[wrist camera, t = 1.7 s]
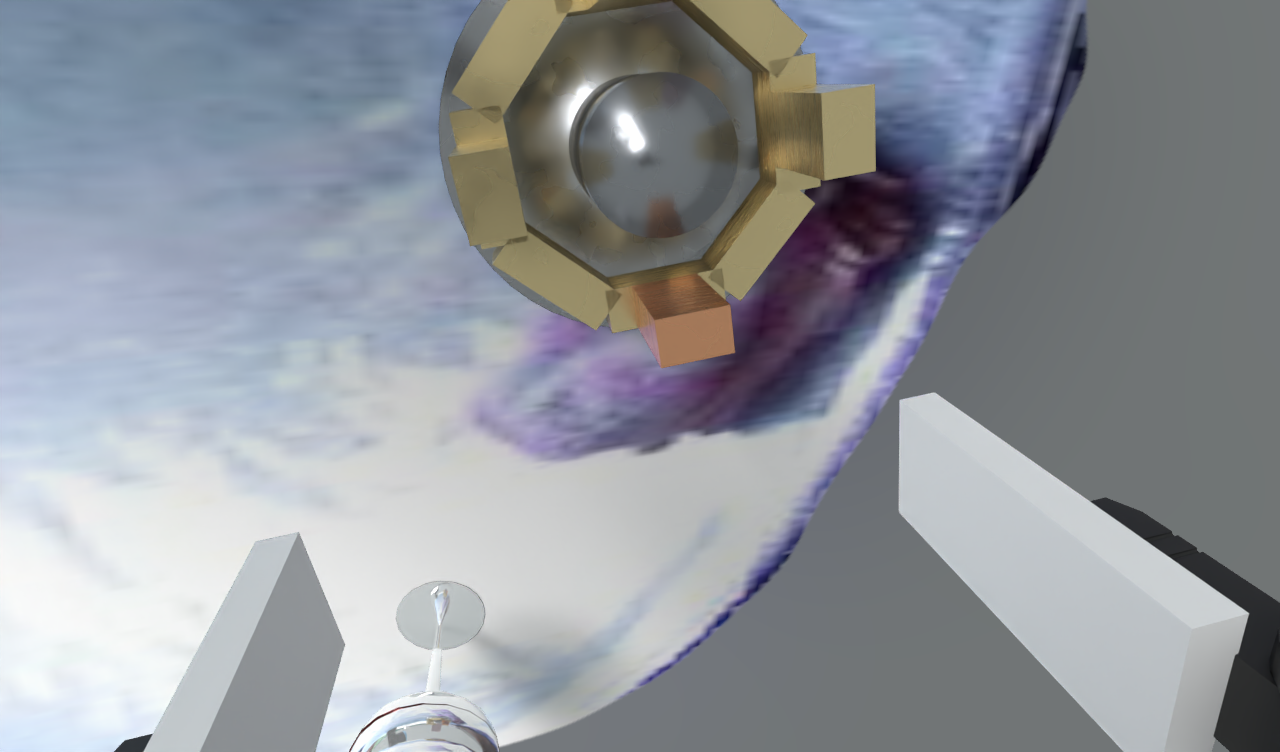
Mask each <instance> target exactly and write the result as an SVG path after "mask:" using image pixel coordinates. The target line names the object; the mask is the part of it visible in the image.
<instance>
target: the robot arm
mask: <svg viewBox="0 0 1280 752" xmlns="http://www.w3.org/2000/svg"><path fill="white" fill-rule="evenodd" d="M899 423H900V425H899V513H900V514H901V515H902V516H903V517H904V518H905V519H906V520H907V521H908V522H909V524H910V525H911V526H912V527H913V528H914V529H915V530H916V531H917V532H918V533H919V534H920V535H921V536H922V537H923V538H924V540H925V541H926V542H927V543H928V544H929V545H930V546H931V547H932V548H933V549H934V550H935V551H936V552H937V553H938V554H939V555H940V556H941V558H942V559H943V560H944V561H945V562H946V563H947V564H948V565H949V566H950V567H951V568H952V569H953V570H954V571H955V573H956V574H958V576H959V577H960V578H961V579H962V580H963V581H964V582H965V583H966V584H967V585H968V586H969V587H970V589H971V590H972V591H973V592H974V593H975V594H976V595H977V596H978V597H979V598H980V599H981V600H982V601H983V602H984V603H985V605H986V606H987V607H988V608H989V609H990V610H991V611H992V612H993V613H994V614H995V615H996V616H997V617H998V618H999V619H1000V620H1001V622H1002V623H1003V624H1004V625H1005V626H1006V627H1007V628H1008V629H1009V630H1010V631H1011V632H1012V633H1013V634H1014V635H1015V636H1016V638H1017V639H1018V640H1019V641H1020V642H1021V643H1022V644H1023V645H1024V646H1025V647H1026V648H1027V649H1028V650H1029V651H1030V652H1031V654H1033V656H1034V657H1035V658H1036V659H1037V660H1038V661H1039V662H1040V663H1041V664H1042V665H1043V666H1044V667H1045V668H1046V669H1047V671H1048V672H1049V673H1050V674H1051V675H1052V676H1053V677H1054V678H1055V679H1056V680H1057V681H1058V682H1059V683H1060V684H1061V685H1062V686H1063V688H1064V689H1065V690H1066V691H1067V692H1068V693H1069V694H1070V695H1071V696H1072V697H1073V698H1074V699H1075V700H1076V701H1077V703H1078V704H1079V705H1080V706H1081V707H1082V708H1083V709H1084V710H1085V711H1086V712H1087V713H1088V714H1089V715H1090V716H1091V717H1092V718H1093V719H1094V721H1095V722H1096V723H1097V724H1098V725H1099V726H1100V727H1101V728H1102V729H1103V730H1104V731H1105V732H1106V733H1107V734H1108V735H1109V737H1110V738H1111V739H1112V740H1113V741H1114V742H1115V743H1116V744H1117V745H1118V746H1119V747H1120V748H1121V749H1122V750H1123V751H1124V752H1212V749H1213V746H1214V742H1215V738H1216V739H1217V740H1218V741H1219V742H1220V743H1221V744H1222V745H1223V746H1225V747H1226V748H1227V749H1228V750H1229V751H1230V752H1280V603H1279V602H1278V601H1276V600H1275V599H1273V598H1272V597H1270V596H1269V595H1267V594H1266V593H1264V592H1263V591H1261V590H1260V589H1258V588H1257V587H1255V586H1253V585H1252V584H1250V583H1249V582H1248V581H1246V580H1244V579H1243V578H1241V577H1240V576H1238V575H1237V574H1235V573H1234V572H1232V571H1231V570H1229V569H1228V568H1226V567H1225V566H1223V565H1222V564H1220V563H1219V562H1217V561H1216V560H1214V559H1213V558H1211V557H1210V556H1208V555H1207V554H1205V553H1204V552H1201V553H1199V552H1198V551H1197V548H1196V547H1195V546H1193V545H1192V544H1190V543H1189V542H1187V541H1185V540H1184V539H1182V538H1181V537H1179V536H1174V535H1173V534H1172V531H1170V530H1169V529H1167V528H1166V527H1164V526H1163V525H1161V524H1160V523H1158V522H1157V521H1155V520H1154V519H1152V518H1151V517H1149V516H1148V515H1146V514H1145V513H1143V512H1141V511H1139V510H1136V509H1134V508H1131V507H1128V506H1126V505H1123V504H1121V503H1118V502H1116V501H1113V500H1110V499H1108V498H1102V499H1098V500H1094V501H1088V500H1087V499H1086V498H1084V497H1083V496H1081V495H1080V494H1078V493H1077V492H1075V491H1074V490H1073V489H1071V488H1070V487H1069V486H1067V485H1066V484H1064V483H1062V482H1061V481H1060V480H1058V479H1057V478H1056V477H1054V476H1052V475H1051V474H1050V473H1049V472H1047V471H1046V470H1044V469H1043V468H1041V467H1040V466H1039V465H1037V464H1036V463H1034V462H1033V461H1031V460H1030V459H1029V458H1027V457H1026V456H1024V455H1023V454H1022V453H1020V452H1019V451H1017V450H1016V449H1014V448H1013V447H1011V446H1010V445H1009V444H1007V443H1006V442H1004V441H1003V440H1002V439H1000V438H998V437H997V436H996V435H994V434H993V433H992V432H990V431H988V430H987V429H986V428H984V427H983V426H982V425H980V424H979V423H977V422H976V421H975V420H973V419H971V418H970V417H969V416H967V415H966V414H965V413H963V412H962V411H960V410H959V409H957V408H956V407H955V406H953V405H952V404H950V403H949V402H947V401H946V400H945V399H943V398H942V397H940V396H939V395H938V394H936V393H929V394H925V395H920V396H916V397H911V398H907V399H902V400H900V421H899ZM344 646H345V643H344V641H343V639H342V636H341V634H340V631H339V629H338V626H337V624H336V622H335V619H334V617H333V614H332V612H331V609H330V607H329V605H328V602H327V600H326V597H325V595H324V592H323V590H322V588H321V585H320V583H319V580H318V578H317V575H316V573H315V571H314V568H313V566H312V563H311V561H310V558H309V556H308V554H307V551H306V549H305V546H304V544H303V541H302V539H301V537H300V534H299V532H298V533H293V534H289V535H284V536H279V537H275V538H270V539H266V540H261V541H257V542H255V544H254V546H253V548H252V550H251V552H250V553H249V555H248V557H247V559H246V561H245V563H244V565H243V567H242V568H241V570H240V572H239V574H238V576H237V578H236V580H235V581H234V583H233V585H232V587H231V589H230V591H229V593H228V595H227V596H226V598H225V600H224V602H223V604H222V606H221V608H220V610H219V611H218V613H217V615H216V617H215V619H214V621H213V623H212V624H211V626H210V628H209V630H208V632H207V634H206V636H205V638H204V639H203V641H202V643H201V645H200V647H199V649H198V651H197V653H196V654H195V656H194V658H193V660H192V662H191V664H190V666H189V667H188V669H187V671H186V673H185V675H184V677H183V679H182V681H181V682H180V684H179V686H178V688H177V690H176V692H175V694H174V695H173V697H172V699H171V701H170V703H169V705H168V707H167V709H166V710H165V712H164V714H163V716H162V718H161V720H160V722H159V724H158V725H157V727H156V729H155V731H154V733H153V734H150V735H145V736H141V737H137V738H133V739H129V740H125V741H124V742H123V743H122V744H121V745H120V746H119V747H118V748H117V749H116V750H115V751H114V752H315V751H316V747H317V744H318V740H319V737H320V733H321V729H322V726H323V722H324V718H325V715H326V711H327V708H328V704H329V700H330V697H331V693H332V690H333V686H334V682H335V679H336V675H337V671H338V668H339V664H340V661H341V657H342V653H343V650H344Z"/></svg>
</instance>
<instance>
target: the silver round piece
mask: <svg viewBox="0 0 1280 752" xmlns="http://www.w3.org/2000/svg"><path fill="white" fill-rule="evenodd" d="M507 1H508V0H481V2H480V3H479V5H478V6H477V7H476V9H475V10H474V12H473V13H472V15H471V16H470V17H469V19H468V21H467V23H466V25H465V27H464V29H463V31H462V33H461V35H460V37H459V39H458V41H457V43H456V45H455V48H454V51H453V53H452V56H451V59H450V62H449V65H448V68H447V71H446V76H445V80H444V85H443V90H442V95H441V102H440V116H439V139H440V155H441V160H442V165H443V171H444V176H445V181H446V184H447V187H448V190H449V194H450V197H451V200H452V203H453V206H454V208H455V210H456V212H457V214H458V217H459V219H460V221H461V223H462V225H463V227H464V229H465V231H466V227H465V223H464V219H463V215H462V211H461V207H460V203H459V199H458V195H457V191H456V187H455V183H454V179H453V175H452V171H451V167H450V163H449V159H448V156H449V155H450V154H451V152H452V151H453V149H454V148H455V147H456V142H455V137H454V133H453V129H452V125H451V121H450V117H449V113H450V112H452V111H457V110H463V109H469V108H472V107H470V106H469V105H468V104H466V103H465V102H464V101H462V100H461V99H459V98H458V97H457V96H455V95H454V94H452V91H453V89H454V88H455V86H456V84H457V83H458V81H459V79H460V78H461V76H462V75H463V73H464V71H465V70H466V68H467V66H468V65H469V63H470V61H471V60H472V58H473V57H474V55H475V53H476V52H477V50H478V48H479V47H480V45H481V43H482V42H483V40H484V38H485V37H486V35H487V34H488V32H489V30H490V29H491V27H492V25H493V24H494V22H495V20H496V19H497V17H498V16H499V14H500V12H501V11H502V9H503V7H504V6H505V4H506V2H507ZM771 1H772V2H773V3H774V4H775V5H776V6H777V7H778V8H779V6H778V5H777V4H776V2H775V1H774V0H771ZM779 9H780V8H779ZM780 10H781V9H780ZM802 54H803V53H802V50H801V48H800V47H799V48H798V50H797V51H796V53H795V54H794V55H802ZM503 120H504V125H505V129H506V134H507V139H508V144H509V148H510V153H511V158H512V162H513V167H514V172H515V176H516V181H517V186H518V190H519V195H520V200H521V205H522V209H523V214H524V219H525V222H526V223H528V224H529V225H531V226H532V227H534V228H535V229H537V230H538V231H540V232H541V233H543V234H544V235H546V236H547V237H549V238H550V239H551V240H553V241H554V242H556V243H557V244H559V245H560V246H562V247H563V248H565V249H566V250H568V251H569V252H571V253H572V254H574V255H575V256H577V257H578V258H580V259H581V260H583V261H584V262H586V263H587V264H589V265H590V266H592V267H593V268H594V269H596V270H597V271H599V272H600V273H602V274H603V275H605V276H606V277H611V276H616V275H621V274H626V273H631V272H636V271H641V270H647V269H652V268H657V267H662V266H667V265H672V264H677V263H683V262H688V261H693V260H698V259H701V258H702V257H703V255H704V254H705V253H706V251H707V250H708V249H709V247H710V246H711V244H712V243H713V242H714V240H715V239H716V238H717V236H718V235H719V234H720V232H721V231H722V230H723V228H724V227H725V225H726V224H727V223H728V221H729V220H730V219H731V217H732V216H733V215H734V213H735V212H736V210H737V209H738V208H739V206H740V205H741V204H742V202H743V201H744V200H745V198H746V197H747V196H748V194H749V193H750V191H751V190H752V189H753V187H754V186H755V185H756V183H757V182H758V181H759V179H760V174H759V161H758V148H757V134H756V121H755V108H754V95H753V81H752V72H751V71H749V70H748V69H747V68H746V67H745V66H744V65H743V64H742V63H740V62H739V61H738V60H737V59H736V58H735V57H734V56H733V55H731V54H730V53H729V52H728V51H727V50H726V49H725V48H724V47H722V46H721V45H720V44H719V43H718V42H717V41H716V40H715V39H713V38H712V37H711V36H710V35H709V34H708V33H707V32H706V31H704V30H703V29H702V28H701V27H700V26H699V25H698V24H697V23H695V22H694V21H693V20H692V19H691V18H690V17H689V16H688V15H686V14H685V13H684V12H683V11H682V10H681V9H680V8H679V7H677V6H676V5H675V4H674V3H673V2H672V1H670V2H663V3H657V4H650V5H644V6H637V7H630V8H624V9H617V10H611V11H604V12H598V13H591V14H584V15H578V16H571V17H565V18H564V19H563V21H562V23H561V24H560V26H559V27H558V29H557V30H556V32H555V34H554V35H553V37H552V38H551V40H550V42H549V43H548V45H547V46H546V48H545V49H544V51H543V53H542V54H541V56H540V57H539V59H538V60H537V62H536V64H535V65H534V67H533V68H532V70H531V72H530V73H529V75H528V76H527V78H526V79H525V81H524V83H523V84H522V86H521V87H520V89H519V91H518V92H517V94H516V95H515V97H514V98H513V100H512V102H511V103H510V105H509V106H508V108H507V110H506V111H505V113H504V114H503ZM800 191H801V192H802V193H803V194H804V192H805V189H804V190H800ZM466 233H467V231H466ZM475 247H476V248H477V250H478V251H479V253H480V254H481V255H482V256H483V257H484V259H485V260H486V261H487V262H488V263H489V265H490V266H491V267H492V268H493V269H494V271H496V272H497V273H498V274H499V275H500V276H501V277H502V278H503V279H504V280H505V281H506V282H507V283H508V284H509V285H510V286H512V287H513V288H514V289H516V290H517V291H518V292H520V293H521V294H523V295H524V296H525V297H527V298H528V299H530V300H531V301H533V302H535V303H537V304H538V305H540V306H542V307H544V308H546V309H548V310H549V311H551V312H554V313H556V314H559V315H562V316H564V317H567V318H569V319H572V320H575V321H579V322H582V321H580V320H579V319H577V318H576V317H574V316H573V315H571V314H569V313H568V312H566V311H565V310H563V309H562V308H560V307H558V306H557V305H555V304H554V303H552V302H551V301H549V300H547V299H546V298H544V297H543V296H541V295H540V294H538V293H536V292H535V291H533V290H532V289H530V288H529V287H527V286H525V285H524V284H522V283H521V282H519V281H518V280H516V279H514V278H513V277H511V276H510V275H508V274H507V273H505V272H503V271H502V270H500V269H499V268H497V267H496V266H494V265H492V257H493V252H494V250H495V249H496V247H493V248H487V249H481V245H475ZM729 294H730V293H729V292H727V291H726V290H725V297H727V296H728V295H729ZM600 326H606V327H609V325H608V323H607V320H606V318H605V319H604V320H603V322H602V323H601V325H600Z"/></svg>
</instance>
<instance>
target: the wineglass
mask: <svg viewBox="0 0 1280 752" xmlns="http://www.w3.org/2000/svg"><path fill="white" fill-rule="evenodd" d="M484 616H485V611H484V606H483V603H482V601H481V600H480V598H479V597H478V595H477V594H476V593H475V592H473V591H472V590H471V589H469V588H468V587H466V586H463V585H460V584H458V583H455V582H444V581H439V582H433V583H427V584H424V585H422V586H420V587H418V588H415V589H413V590H412V591H411V592H410V593H409V594H408V595H406V596H405V597H404V598H403V600H402V602H401V603H400V605H399V607H398V609H397V616H396V621H397V625H398V628H399V630H400V632H401V633H402V634H403V636H404V637H405V638H406V639H407V640H409V641H410V642H411V643H413V644H414V645H416V646H419V647H422V648H426V649H431V650H433V651H432V657H431V662H430V668H429V674H428V680H427V685H426V691H422V692H417V693H413V694H410V695H406V696H404V697H402V698H399V699H397V700H395V701H393V702H391V703H388V704H386V705H385V706H383V707H382V708H381V709H380V710H379V711H377V712H376V713H375V714H374V715H373V716H372V717H370V719H369V720H368V721H367V723H366V724H365V725H364V727H363V728H362V730H361V732H360V733H359V735H358V737H357V738H356V740H355V742H354V743H353V745H352V747H351V748H350V751H349V752H500V751H499V746H498V741H497V736H496V732H495V729H494V727H493V726H492V724H491V722H490V720H489V719H488V717H487V716H486V715H485V713H484V712H483V710H482V709H481V708H480V707H478V706H477V705H475V704H474V703H472V702H471V701H469V700H468V699H466V698H463V697H461V696H458V695H455V694H452V693H448V692H445V691H440V690H441V667H442V650H445V649H450V648H455V647H458V646H460V645H462V644H464V643H466V642H468V641H469V640H470V639H472V638H473V637H474V636H475V635H476V634H477V633H478V631H479V630H480V628H481V627H482V625H483V621H484Z"/></svg>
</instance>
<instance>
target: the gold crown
mask: <svg viewBox="0 0 1280 752" xmlns="http://www.w3.org/2000/svg"><path fill="white" fill-rule="evenodd" d="M670 1H672V2H673V3H674V4H675V5H676V6H677V7H679V8H680V9H681V10H682V11H683V12H684V13H685V14H686V15H688V16H689V17H690V18H691V19H692V20H693V21H694V22H695V23H697V24H698V25H699V26H700V27H701V28H702V29H703V30H704V31H706V32H707V33H708V34H709V35H710V36H711V37H712V38H713V39H715V40H716V41H717V42H718V43H719V44H720V45H721V46H722V47H724V48H725V49H726V50H727V51H728V52H729V53H730V54H731V55H733V56H734V57H735V58H736V59H737V60H738V61H739V62H740V63H742V64H743V65H744V66H745V67H746V68H747V69H748V70H749V71H751V72H752V81H753V95H754V108H755V121H756V134H757V148H758V161H759V174H760V179H759V181H758V182H757V183H756V185H755V186H754V187H753V189H752V190H751V191H750V193H749V194H748V196H747V197H746V198H745V200H744V201H743V202H742V204H741V205H740V206H739V208H738V209H737V210H736V212H735V213H734V215H733V216H732V217H731V219H730V220H729V221H728V223H727V224H726V225H725V227H724V228H723V230H722V231H721V232H720V234H719V235H718V236H717V238H716V239H715V240H714V242H713V243H712V244H711V246H710V247H709V249H708V250H707V251H706V253H705V254H704V255H703V257H702V258H701V259H698V260H693V261H688V262H683V263H677V264H672V265H667V266H662V267H657V268H652V269H647V270H641V271H636V272H631V273H626V274H621V275H616V276H611V277H606V276H605V275H603V274H602V273H600V272H599V271H597V270H596V269H594V268H593V267H592V266H590V265H589V264H587V263H586V262H584V261H583V260H581V259H580V258H578V257H577V256H575V255H574V254H572V253H571V252H569V251H568V250H566V249H565V248H563V247H562V246H560V245H559V244H557V243H556V242H554V241H553V240H551V239H550V238H549V237H547V236H546V235H544V234H543V233H541V232H540V231H538V230H537V229H535V228H534V227H532V226H531V225H529V224H528V223H526V222H525V219H524V214H523V209H522V205H521V200H520V195H519V190H518V186H517V181H516V176H515V172H514V167H513V162H512V158H511V153H510V148H509V144H508V139H507V134H506V129H505V125H504V120H503V114H504V113H505V111H506V110H507V108H508V106H509V105H510V103H511V102H512V100H513V98H514V97H515V95H516V94H517V92H518V91H519V89H520V87H521V86H522V84H523V83H524V81H525V79H526V78H527V76H528V75H529V73H530V72H531V70H532V68H533V67H534V65H535V64H536V62H537V60H538V59H539V57H540V56H541V54H542V53H543V51H544V49H545V48H546V46H547V45H548V43H549V42H550V40H551V38H552V37H553V35H554V34H555V32H556V30H557V29H558V27H559V26H560V24H561V23H562V21H563V19H564V18H565V17H571V16H578V15H584V14H591V13H598V12H604V11H611V10H617V9H624V8H630V7H637V6H644V5H650V4H657V3H663V2H670ZM807 36H808V35H807V34H806V33H805V32H804V31H803V30H802V29H800V28H799V27H798V26H797V25H796V24H795V23H794V22H793V21H792V20H791V19H790V18H789V17H788V16H787V15H786V14H785V13H784V12H783V11H782V10H780V9H779V8H778V7H777V6H776V5H775V4H774V3H773V2H772V1H771V0H508V1H507V2H506V4H505V6H504V7H503V9H502V11H501V12H500V14H499V16H498V17H497V19H496V20H495V22H494V24H493V25H492V27H491V29H490V30H489V32H488V34H487V35H486V37H485V38H484V40H483V42H482V43H481V45H480V47H479V48H478V50H477V52H476V53H475V55H474V57H473V58H472V60H471V61H470V63H469V65H468V66H467V68H466V70H465V71H464V73H463V75H462V76H461V78H460V79H459V81H458V83H457V84H456V86H455V88H454V89H453V91H452V94H454V95H455V96H457V97H458V98H459V99H461V100H462V101H464V102H465V103H466V104H468V105H469V106H470V107H472V108H469V109H463V110H457V111H452V112H450V113H449V117H450V121H451V125H452V129H453V133H454V137H455V142H456V147H455V148H454V149H453V151H452V152H451V154H450V155H449V156H448V159H449V163H450V167H451V171H452V175H453V179H454V183H455V187H456V191H457V195H458V199H459V203H460V207H461V211H462V215H463V219H464V223H465V227H466V231H467V235H468V239H469V243H470V246H474V245H481V249H487V248H493V247H496V249H495V250H494V252H493V257H492V265H494V266H496V267H497V268H499V269H500V270H502V271H503V272H505V273H507V274H508V275H510V276H511V277H513V278H514V279H516V280H518V281H519V282H521V283H522V284H524V285H525V286H527V287H529V288H530V289H532V290H533V291H535V292H536V293H538V294H540V295H541V296H543V297H544V298H546V299H547V300H549V301H551V302H552V303H554V304H555V305H557V306H558V307H560V308H562V309H563V310H565V311H566V312H568V313H569V314H571V315H573V316H574V317H576V318H577V319H579V320H580V321H582V322H584V323H585V324H587V325H588V326H590V327H591V328H593V329H595V330H597V329H598V327H599V326H600V325H601V323H602V322H603V320H604V319H605V318H606V320H607V323H608V325H609V327H610V329H611V331H612V333H617V332H621V331H626V330H631V329H636V328H638V329H639V330H640V332H641V334H642V336H643V337H644V339H645V341H646V342H647V344H648V346H649V348H650V349H651V351H652V353H653V355H654V356H655V358H656V360H657V362H658V363H659V365H660V367H661V368H665V367H670V366H674V365H679V364H684V363H689V362H693V361H698V360H703V359H708V358H712V357H717V356H722V355H727V354H731V353H735V347H734V337H733V327H732V317H731V307H730V304H729V303H728V302H727V301H726V297H725V290H726V291H727V292H729V293H730V294H731V295H733V296H734V297H735V298H737V299H738V300H740V301H741V300H742V299H743V298H744V296H745V295H746V294H747V292H748V291H749V290H750V288H751V287H752V286H753V284H754V283H755V282H756V281H757V279H758V278H759V277H760V275H761V274H762V273H763V271H764V270H765V269H766V267H767V266H768V265H769V263H770V262H771V261H772V260H773V258H774V257H775V256H776V254H777V253H778V252H779V250H780V249H781V248H782V246H783V245H784V244H785V242H786V241H787V240H788V239H789V237H790V236H791V235H792V233H793V232H794V231H795V229H796V228H797V227H798V225H799V224H800V223H801V221H802V220H803V219H804V218H805V216H806V215H807V214H808V212H809V211H810V210H811V208H812V207H813V206H814V204H815V203H814V202H813V201H812V200H811V199H809V198H808V197H807V196H806V195H805V194H803V193H802V192H801V191H800V190H804V189H809V188H814V187H820V186H821V183H820V179H821V180H830V179H835V178H841V177H846V176H852V175H857V174H862V173H868V172H873V171H876V156H875V84H816V62H815V53H811V54H802V55H794V54H795V53H796V51H797V50H798V48H799V47H800V46H801V44H802V43H803V41H804V40H805V39H806V37H807Z"/></svg>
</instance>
